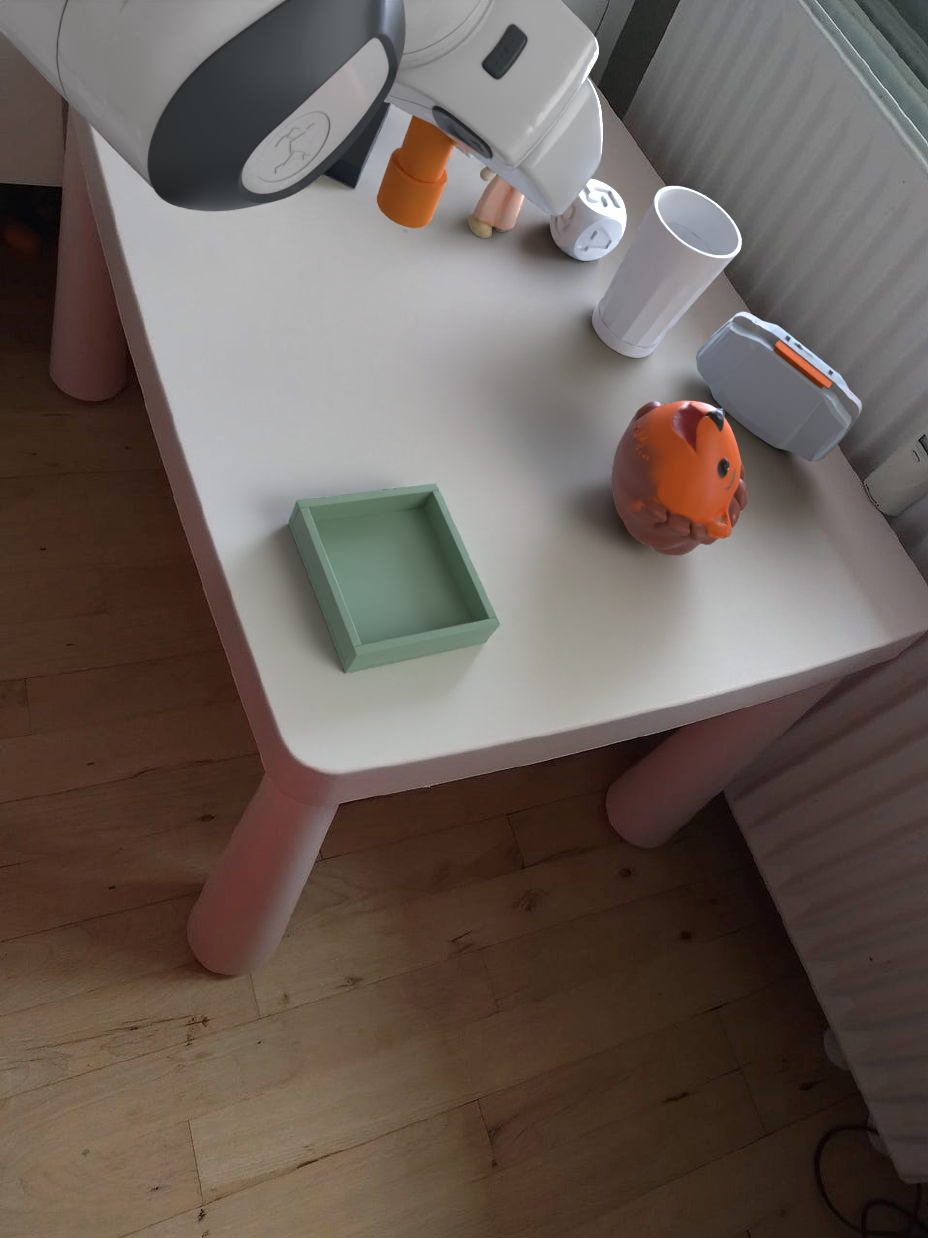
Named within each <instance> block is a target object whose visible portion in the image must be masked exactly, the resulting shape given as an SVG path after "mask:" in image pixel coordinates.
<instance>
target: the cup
mask: <svg viewBox="0 0 928 1238" xmlns="http://www.w3.org/2000/svg"><path fill="white" fill-rule="evenodd" d="M741 249H742V235H741V233H740V230H739V228H738V226H737V224H736V223H735V221H734V220H733V218H732V217H731V216H730V214H728V213H727V212H726V211H725V210H724V209H723V208H722V207H721V206H720V205H719V204H718V203H716V202H715V201H714V200H712V199H711V198H709V197H707V195H704V194H703V193H700V192H698V191H696V190H693V189H691V188H688V187H684V186H678V185H670V186H665V187H662V188H660V189H659V190H658V191H656V193H655V195H654V197H653V199H652V200H651V202H650V205H649V207H648V208H647V211H646V212H645V215H644V217H643V218H642V219H641V223H640V224H639V226H638V228H637V231H636V234H635V237H634V239H633V240H632V242H631V244H630V245H629V248H628V249H627V251H626V253H625V255H624V257H623V259H622V261H621V262H620V265H619V267H618V269H617V270H616V272H615V274H614V276H613V278H612V280H611V282H610V283H609V285H608V287H607V289H606V291H605V293H604V295H603V296H602V298H601V299H600V300H599V302H598V304H597V305H596V306H595V308H594V310H593V312H592V314H591V324H592V327H593V329H594V332H596V335H597V336H598V338H599V339H600V340H601V341H602V342H603V343H604V344H605V345H606V346H607V347H609V348H610V349H611V350H613V351H615V352H616V353H618V354H620V355H623V356H625V357H629V358H634V359H641V358H645V357H648V356H649V355H651V354H652V352H653V351H654V350H655V348H656V347H657V346H658V344H659V343H660V342H661V341H662V340H663V338H664V337H665V336H666V335H667V334H668V333H669V332H670V330H671V329H673V327H674V326H675V325H676V324H677V323H678V321H679V320H680V319H681V318H682V317H683V316H684V314H685V313H686V312H687V311H688V310H689V309H690V307H691V306H693V304H694V303H695V302H696V301H697V300H698V298H699V297H700V296H701V295H702V294H703V293H704V292H705V291H706V289H707V288H708V287H709V286H710V285H711V284H712V283H713V281H714V280H715V279H716V278H717V277H718V276H719V275H720V274H721V272H722V271H724V269H725V268H726V267H727V266H729V264H730V263H731V262H732V260H733V259H734V258H735V257H736V256H737V255H738V254H739V252H741V251H740V250H741Z"/></svg>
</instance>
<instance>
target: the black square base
mask: <svg viewBox="0 0 928 1238" xmlns="http://www.w3.org/2000/svg"><path fill="white" fill-rule="evenodd" d="M391 105H392V103H387V102H383V104H382V105H381V107H380V108H379V110H378V111H377V113H376V114H375V116H374V117H373V119H372V120H371V121H370V123H369V124H368V126H367V127H366V128H365V130H364V131H363V132H362V133H361V135H360V136H359V137H358V139H357V140H356V141H355V142H354V143H353V144H352V146H351V147H350V148H349V149H348V150H347V151H346V152H345V153H344V154H343V155H342V156H341V157H340V158H339V159H338V160H337V161H336V162H335V163H334V164H333V165H332V166H331V167H330V168H329V169H328V170H327V171H326V172H325V173H323V174H322V175H324V176H327V177H329V178H331V179H333V180H335V181H337V182H339V183H342V184H344V185H346V186H348V187H350V188H352V189H356V187H357V184H358V182H359V181H360V178H361V175H362V173H363V171H364V169H365V166H366V164H367V162H368V161H369V157H370V155H371V153H372V151H373V148H374V146H375V144H376V142H377V139H378V137H379V135H380V134H381V133H380V132H381V130H382V128H383V126H384V124H385V122H386V119H387V117H388V114H389V112H390V108H391Z"/></svg>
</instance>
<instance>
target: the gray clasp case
mask: <svg viewBox="0 0 928 1238" xmlns="http://www.w3.org/2000/svg"><path fill="white" fill-rule="evenodd" d="M695 360H696V368H697V371H698V373H699V374H700V376H701V378H702V379H703V381H704V382H705V384H707V385H708V388H709V390H710V391H711V395H712V398H713V399H714V400H715V402H716V403H717V404H718V405H719V406H720V407H721V409H723V410H724V411H725V413H727V414H728V415H730V416H731V417H732V418H733V419H734V420H735V421H737V422H738V423H739V424H740V425H741V426H743V427H744V428H745V429H746V430H748V431H749V432H750V433H752V434H753V435H755V436H756V437H758V439H761V440H762V441H763V442H765V443H767V444H768V445H770V446H772V447H773V448H775V449H780V450H784V451H787V452H790V453H793V454H794V455H796V456H798V457H800V458H802V459H803V460H805V461H808V462H819V461H822V460H824V459H825V458H826V457H827V456H828V455H830V453H831V452H833V450H835V448H836V447H838V445H839V444H840V443H841V442H842V440H843V439H844V438H845V437H846V435H848V432H849V431H850V430H851V428H852V427H853V426H854V424H855V423H856V421H857V419H858V418H859V416H860V414H861V412H862V409H863V403H862V402H861V400H860V398H859V397H858V396H856V395H855V393H854V392H852V391H851V390H850V389H849V386H848V384H847V383H846V381H845V380H844V378H843V377H842V374H841V375H840V373H838V371H836V370H834V369H833V368H832V367H831V366H829V365H828V364H827V363H826V362H824V361H823V360H822V359H821V358H819V356H817V355H816V354H815V353H813V352H812V351H811V350H809V349H808V347H806V346H805V345H803V344H802V343H801V342H799V341H798V340H797V339H796V338H795V337H793V336H792V335H791V334H790V333H788V332H787V331H786V330H785V329H784V328H782V327H780V326H779V325H778V324H775V323H771V322H769V321H768V322H767V321H764V320H762V319H760V318H758V317H757V316H755V315H753V314H751V313H750V312H747V311H740V312H737V313H735V314H734V316H733V317H731V318H730V319H729V320H728V321H726V323H724V324H723V325H722V326H721V327H720V328H719V329H718V330H717V331H715V332H714V334H712V335H711V337H709V339H708V340H707V341H706V342H705V343H704V344H703V345H702V347H700V349H699V350H698V351H697V353H696V356H695Z"/></svg>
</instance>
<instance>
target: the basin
mask: <svg viewBox="0 0 928 1238" xmlns="http://www.w3.org/2000/svg"><path fill="white" fill-rule="evenodd" d="M438 485H439V484H438V483H428V484H421V485H412V486H404V487H397V488H389V489H379V490H371V491H364V492H355V493H347V494H338V495H331V496H330V495H329V496H322V497H314V498H307V499H306V498H305V499H298V500H296V501H295V502H294V503H295V504H294V506H293V508H292V512H291V514H290V517H289V519H288V522H287V523H288V526H289V529H290V531H291V534H292V537H293V539H294V542H295V545H296V547H297V550H298V553H299V555H300V558H301V560H302V563H303V566H304V568H305V571H306V574H307V576H308V579H309V581H310V585H311V587H312V589H313V593H314V595H315V597H316V601H317V603H318V606H319V608H320V610H321V613H322V616H323V619H324V622H325V624H326V627H327V629H328V632H329V635H330V638H331V640H332V642H333V645H334V647H335V650H336V652H337V656H338V658H339V661H340V664H341V666H342V669H343V671H344V673H345V674H350V673H353V672H358V671H364V670H368V669H372V668H376V667H381V666H385V665H389V664H390V665H391V664H394V663H395V664H396V663H399V662H405V661H407V660H413V659H418V658H421V657H426V656H430V655H431V656H432V655H435V654H440V653H445V652H449V651H455V650H457V649H463V648H467V647H468V648H469V647H471V646H476V645H481V644H486V643H487V642H488V641H489V639H490V638H491V637H492V635H494V633H495V632H496V631H497V629H498V628H499V627H500V626H501V623H500V621H499V619H498V616H497V613H496V612H495V610H494V608H493V605H492V602H491V601H490V598H489V596H488V594H487V592H486V590H485V587H484V585H483V583H482V581H481V578H480V575H479V574H478V572H477V570H476V567H475V565H474V563H473V560H472V559H471V557H470V554H469V552H468V549H467V548H466V545H465V543H464V541H463V538H462V536H461V534H460V532H459V529H458V528H457V525H456V522H455V520H454V518H453V516H452V514H451V512H450V509H449V507H448V505H447V503H446V501H445V498H444V496H443V494H442V492H441V490H440V488H439V486H438Z"/></svg>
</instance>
